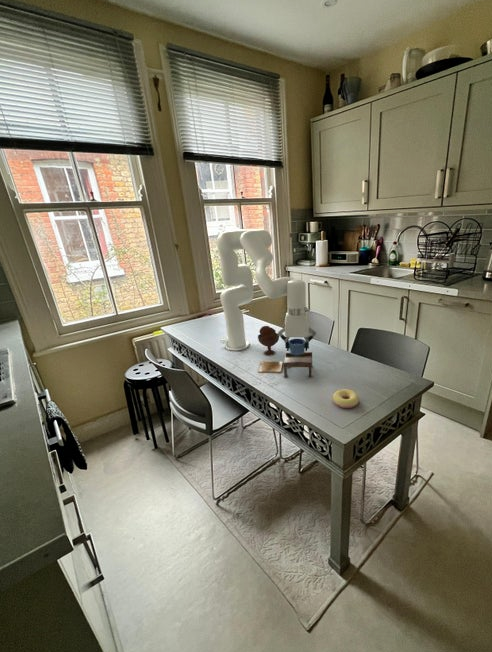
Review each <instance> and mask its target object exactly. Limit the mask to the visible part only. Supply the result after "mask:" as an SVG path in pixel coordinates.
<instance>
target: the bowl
mask: <svg viewBox="0 0 492 652" xmlns="http://www.w3.org/2000/svg"><path fill="white" fill-rule="evenodd" d="M288 340H289V352H290V353H291V354H292V355H302V354H304V352H306V351H305V342H306V340H305V338H291V339H288Z"/></svg>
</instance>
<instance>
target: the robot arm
mask: <svg viewBox="0 0 492 652" xmlns="http://www.w3.org/2000/svg"><path fill="white" fill-rule="evenodd" d="M272 244H273V238H272V235H271V233H270V231H268V230H267V229H263V228H261V229H259V228H258V229H257V228H247V229H246V228H244V229H233V230H226V231H222V232H221V233H219V235H218V236H217V238H216V248H217V251H218V256H219V260H220V261H219V262H220V271H221V281H222V284H223V285H224V286H226V287H230V288H226V289H224V290H222V292H221V293H220V295H219V296H220V297H219V298H220V299H219V300H220V303H221V306H222V309H223V314H224V321H225V331H226V336H227V338H220V343H221V344H223V345H225V349H226V350H228V351H234V352H235V351H236V352H237V351H242V350H245V349H248V347H250V343H249V341H248V340H246V339H247V338H246V330H245V321H244V314H243V312H242V310H241V309H240V307H241V306H243V305H246V304H250V303H251V302H252V301H253V299H254V276H253V271H252V269H251V267H250V266H249V265H247V264H246V263H242V264H241V263H240V264H239V256H238V254H237V253H236V251H237V250H238V251H239V250H244V251H245V253H246V255H247V256H248V257H249V258H250V260H251V261H252V263H253V264H254V265H255V267H256V268H255V280H256V283H257V285H258V286H259V288H260V290H261V291H262V292H263V294H264V295H265V296H266V298H269V299H271V300H275V299H279V298H283V297H286V301H287V302H286V304H287V305H286V306H287V312H286V313H285V317H284V327H283V328H281V329H280V330H279V331H277V334H278V335H279V338H281V340H282V341H284V346H285V349H286V352H290V349H289V340H290V338H303V339H304V340H305V341H306V342H305V352H308V349H310V342H311V341H312V340H313V339H314V338H315V336H316V335H317V331H315V330H314V329H312V328H311V327H310V321H309V315H308V312H310V308H309V307H307V306H306V305H307V304H306V302H307V300H306V299H307V297H306V296H307V294H306V293H307V292H306V291H307V290H306V287H307V286H306V282H305V281H304V280H302V279H295V278H293V277H292V276H284V277H279V278H274V279H272V278H271V277H270V276H269V274H268V272H267V270H266V269H267V268H268V267H269V266H270V265H271V264H272V262H273V261H274V255H273V254H272V252H271V250H270V249H269V248H270V247H271V246H272ZM239 306H240V307H239ZM309 333H311V334H310V335H309Z"/></svg>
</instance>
